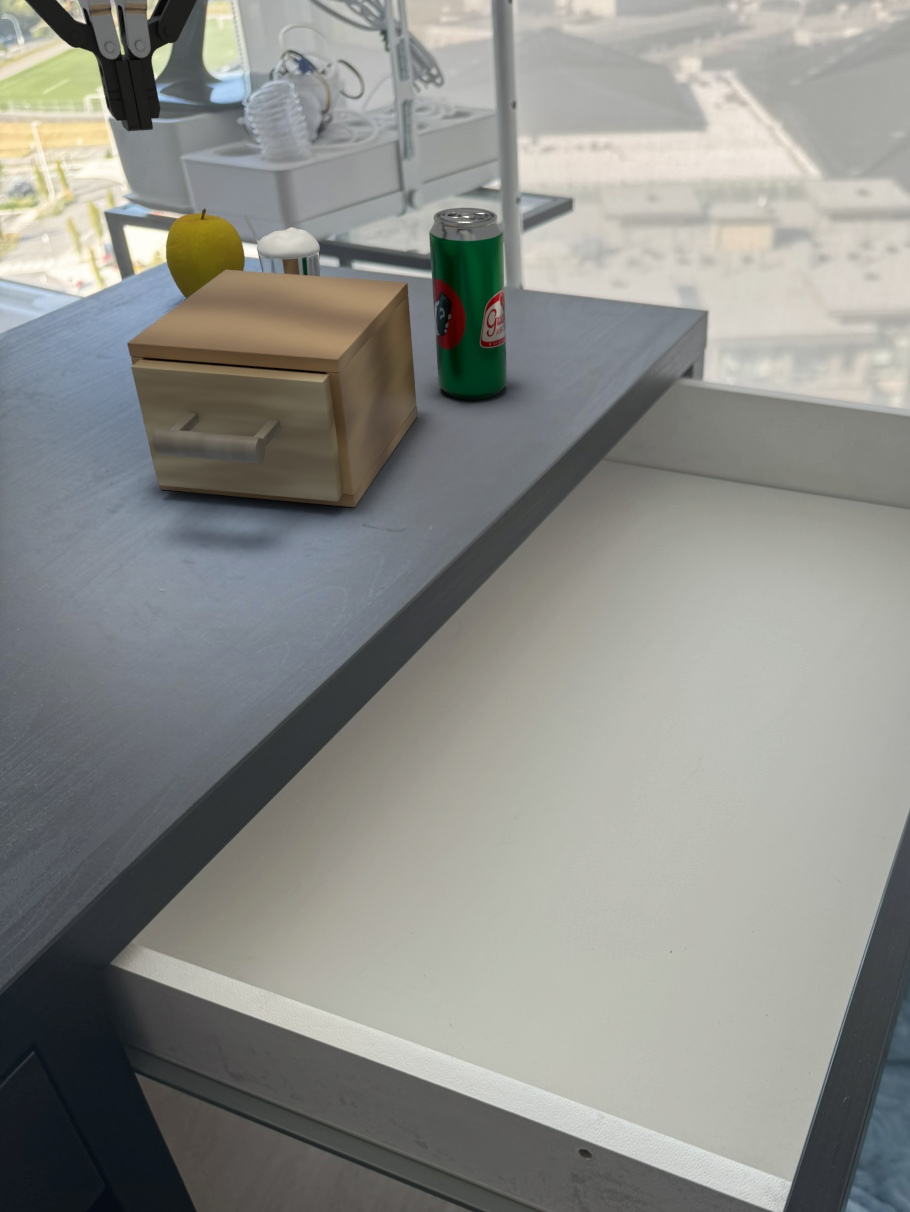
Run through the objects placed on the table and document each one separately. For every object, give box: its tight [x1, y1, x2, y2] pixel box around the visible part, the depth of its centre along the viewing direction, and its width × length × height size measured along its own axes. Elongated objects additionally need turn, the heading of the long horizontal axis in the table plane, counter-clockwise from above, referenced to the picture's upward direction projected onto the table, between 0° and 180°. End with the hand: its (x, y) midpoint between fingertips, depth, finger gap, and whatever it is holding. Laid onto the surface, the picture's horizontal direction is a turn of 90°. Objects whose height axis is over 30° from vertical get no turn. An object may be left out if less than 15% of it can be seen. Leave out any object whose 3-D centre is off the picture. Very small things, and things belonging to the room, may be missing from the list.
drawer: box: [130, 359, 343, 501], centre depth 72 cm, size 18×11×7 cm, turn 171°
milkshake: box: [243, 214, 321, 276], centre depth 88 cm, size 4×5×10 cm
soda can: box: [428, 207, 508, 401], centre depth 83 cm, size 5×5×12 cm
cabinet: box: [126, 270, 418, 508], centre depth 75 cm, size 15×13×9 cm
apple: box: [165, 208, 246, 300], centre depth 98 cm, size 6×6×8 cm
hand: (137, 128), depth 71 cm, fingers closed
